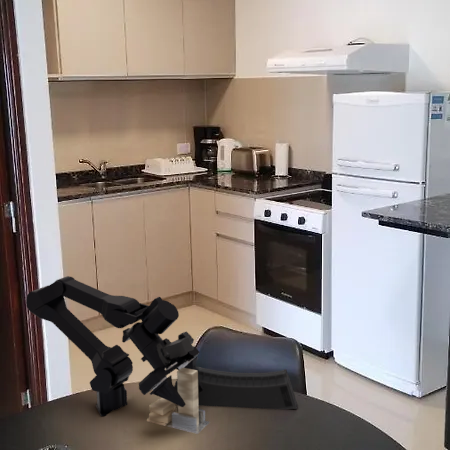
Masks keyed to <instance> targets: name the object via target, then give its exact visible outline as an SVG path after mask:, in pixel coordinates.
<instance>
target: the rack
mask: <svg viewBox="0 0 450 450" xmlns="http://www.w3.org/2000/svg"><path fill="white" fill-rule="evenodd" d="M210 423H211V421H208V420H206V410H205V409H203V408H199V424H198V425H197V420H196V417H192V416H188V415H183V414H179V413H175V412H173V413H172V421H171V422H169V423H168V424H167V427H169V428H172V429H173V428H174V429H177V430H180V431H185V432H188V433H193V434H196V435H197V434H198V435H199V433H200V432H201V431H202V430H203V429H205V427H207V426H208V425H209V424H210Z"/></svg>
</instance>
